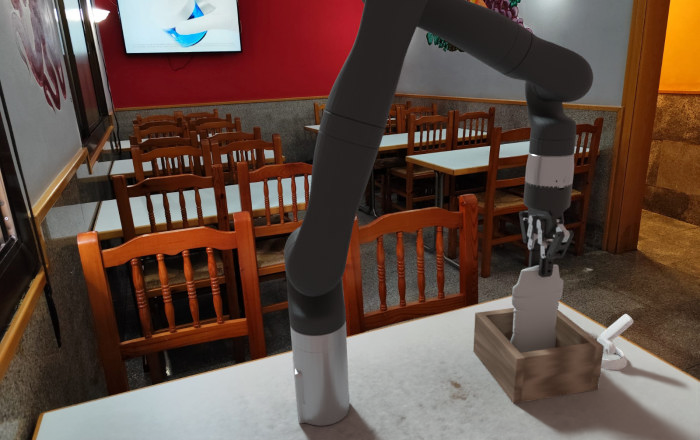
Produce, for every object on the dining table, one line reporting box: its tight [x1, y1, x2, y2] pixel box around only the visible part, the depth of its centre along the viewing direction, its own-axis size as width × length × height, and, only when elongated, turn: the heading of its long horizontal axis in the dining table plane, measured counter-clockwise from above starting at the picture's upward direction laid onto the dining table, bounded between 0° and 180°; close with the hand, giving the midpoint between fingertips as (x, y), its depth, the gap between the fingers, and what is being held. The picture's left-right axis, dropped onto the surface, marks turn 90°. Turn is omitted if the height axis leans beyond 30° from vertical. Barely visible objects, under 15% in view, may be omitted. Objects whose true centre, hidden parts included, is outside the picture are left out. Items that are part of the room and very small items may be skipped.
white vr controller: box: [596, 313, 634, 371], centre depth 94 cm, size 8×12×7 cm
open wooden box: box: [473, 307, 604, 404], centre depth 91 cm, size 16×16×9 cm
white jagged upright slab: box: [510, 264, 564, 353], centre depth 89 cm, size 11×4×22 cm, turn 105°
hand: (539, 272), depth 86 cm, fingers closed
